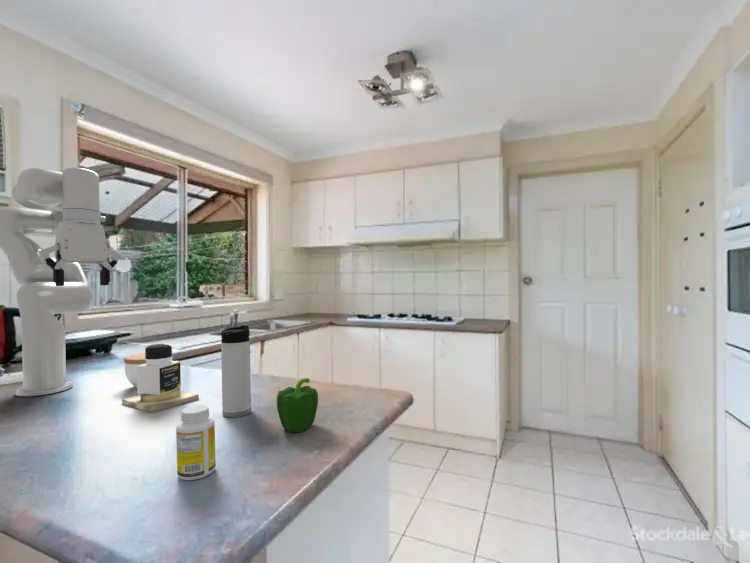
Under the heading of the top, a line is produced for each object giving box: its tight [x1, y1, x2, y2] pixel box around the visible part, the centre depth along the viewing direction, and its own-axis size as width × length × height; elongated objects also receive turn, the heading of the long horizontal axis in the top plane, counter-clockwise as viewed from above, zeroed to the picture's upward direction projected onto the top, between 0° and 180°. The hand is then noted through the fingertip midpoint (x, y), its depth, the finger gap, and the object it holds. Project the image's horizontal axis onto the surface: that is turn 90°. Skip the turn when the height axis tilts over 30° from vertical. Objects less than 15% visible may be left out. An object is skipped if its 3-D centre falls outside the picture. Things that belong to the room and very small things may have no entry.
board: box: [121, 387, 200, 414], centre depth 99 cm, size 14×12×3 cm
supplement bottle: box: [175, 404, 217, 481], centre depth 61 cm, size 6×6×10 cm
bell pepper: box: [276, 377, 319, 433], centre depth 79 cm, size 8×8×10 cm
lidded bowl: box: [123, 352, 174, 389], centre depth 115 cm, size 13×13×11 cm
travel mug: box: [220, 324, 252, 418], centre depth 89 cm, size 6×7×20 cm
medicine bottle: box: [136, 343, 182, 395], centre depth 99 cm, size 7×7×12 cm
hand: (83, 285), depth 98 cm, fingers open, 9 cm apart
